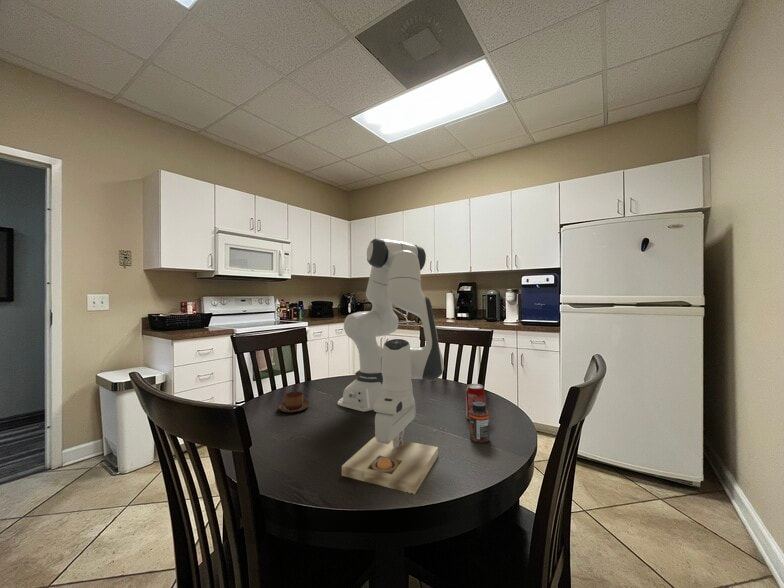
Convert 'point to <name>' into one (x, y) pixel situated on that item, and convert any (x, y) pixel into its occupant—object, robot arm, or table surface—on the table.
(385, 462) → the ball
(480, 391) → the soda can
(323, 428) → the table surface
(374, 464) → the light wooden flat slab
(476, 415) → the supplement bottle
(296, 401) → the cup and saucer
